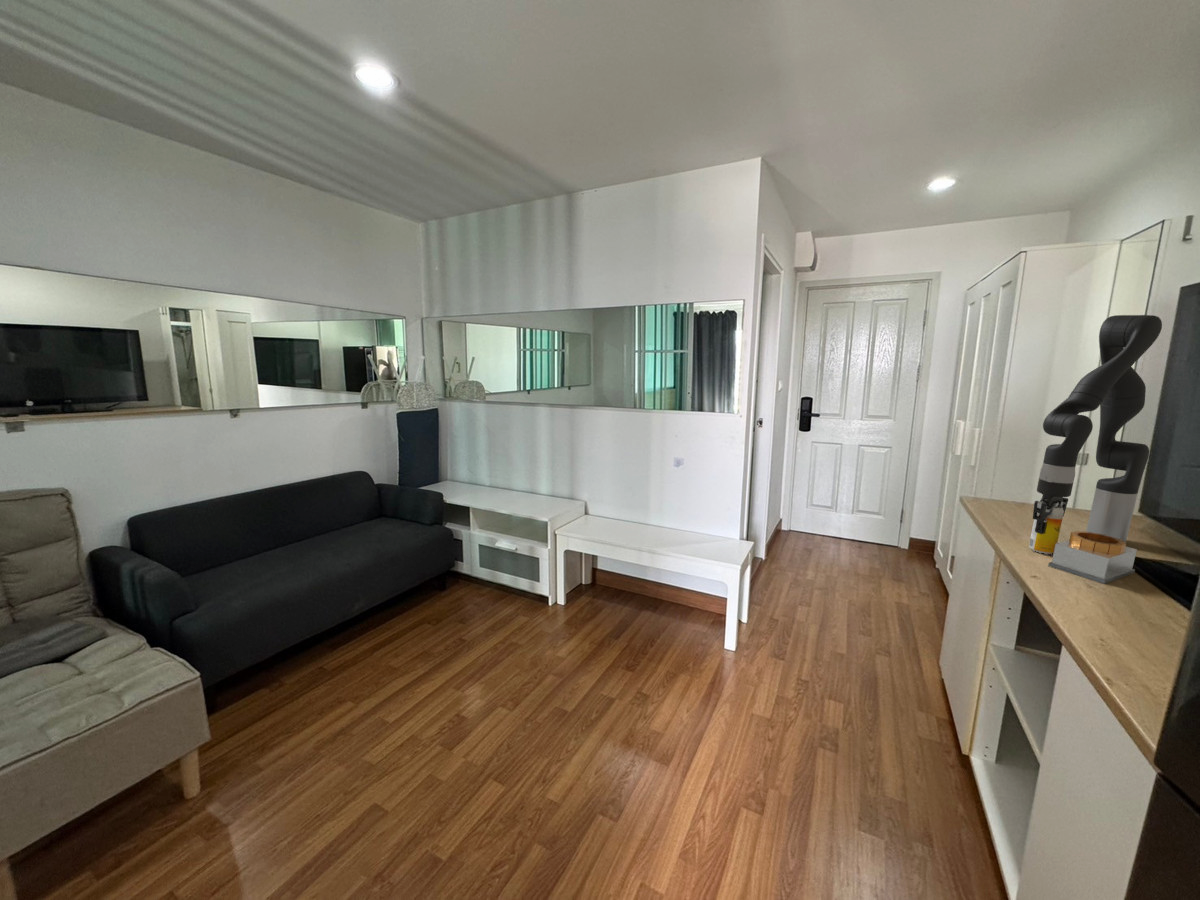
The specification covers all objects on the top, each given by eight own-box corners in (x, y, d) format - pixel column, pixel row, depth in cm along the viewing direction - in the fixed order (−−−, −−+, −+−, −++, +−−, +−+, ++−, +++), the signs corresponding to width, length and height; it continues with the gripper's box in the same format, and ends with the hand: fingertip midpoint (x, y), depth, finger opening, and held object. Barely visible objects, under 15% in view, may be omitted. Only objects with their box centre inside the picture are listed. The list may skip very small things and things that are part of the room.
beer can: (1060, 556, 141) (1070, 509, 138) (1037, 554, 142) (1046, 507, 139) (1045, 548, 146) (1054, 503, 144) (1023, 546, 148) (1032, 501, 145)
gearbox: (1084, 554, 142) (1090, 525, 140) (1139, 570, 131) (1147, 539, 129) (1048, 566, 134) (1054, 535, 132) (1104, 583, 123) (1112, 550, 121)
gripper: (1052, 474, 146) (1042, 524, 149) (1027, 478, 140) (1017, 530, 143) (1084, 479, 139) (1073, 532, 142) (1059, 484, 134) (1048, 539, 137)
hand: (1045, 531), depth 143 cm, fingers closed on beer can, 6 cm apart
